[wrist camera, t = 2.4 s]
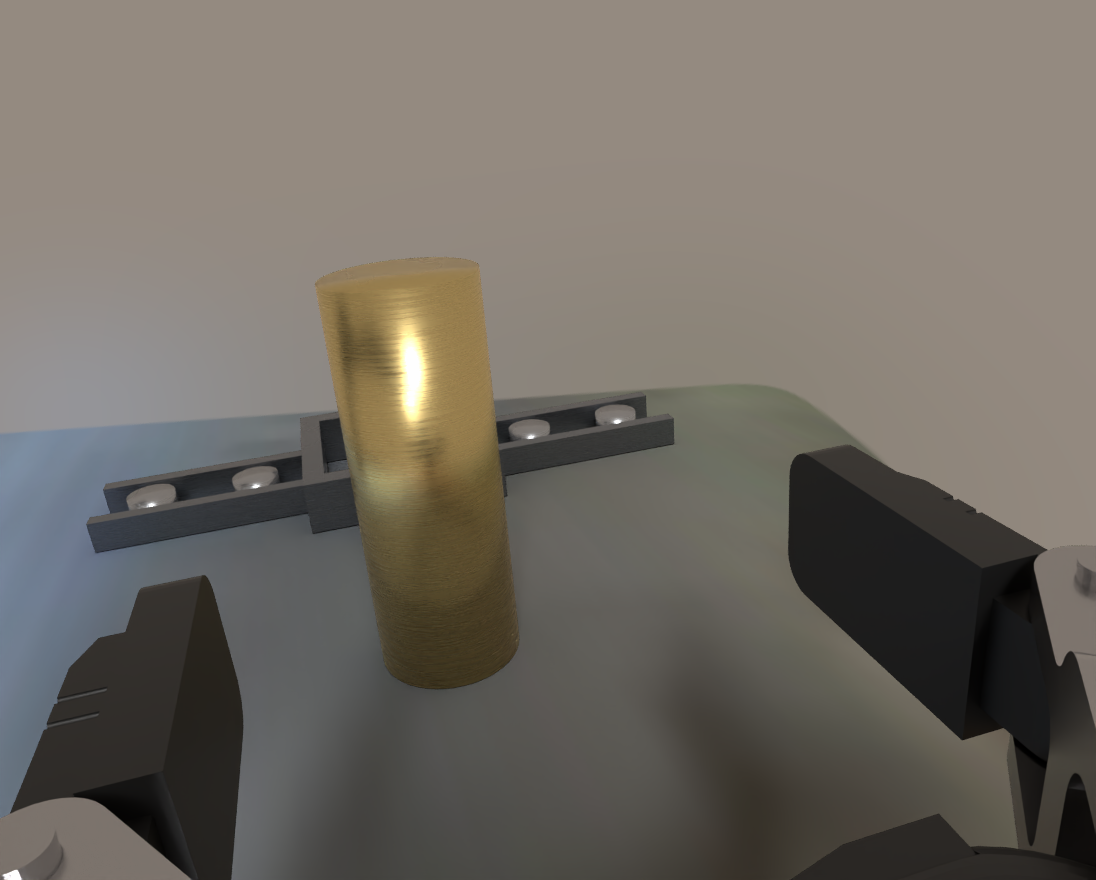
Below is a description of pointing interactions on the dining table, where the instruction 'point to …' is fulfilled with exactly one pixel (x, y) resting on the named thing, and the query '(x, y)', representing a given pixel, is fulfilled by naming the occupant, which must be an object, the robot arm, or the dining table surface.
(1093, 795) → the robot arm
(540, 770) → the dining table surface
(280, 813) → the dining table surface
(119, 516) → the ball bearing track
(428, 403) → the brass pin
